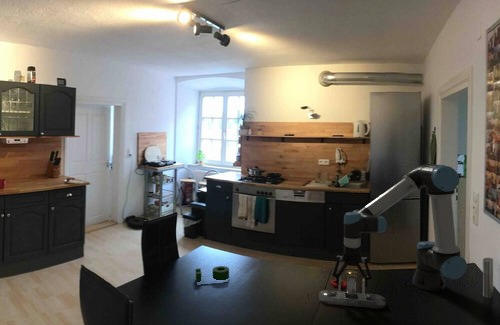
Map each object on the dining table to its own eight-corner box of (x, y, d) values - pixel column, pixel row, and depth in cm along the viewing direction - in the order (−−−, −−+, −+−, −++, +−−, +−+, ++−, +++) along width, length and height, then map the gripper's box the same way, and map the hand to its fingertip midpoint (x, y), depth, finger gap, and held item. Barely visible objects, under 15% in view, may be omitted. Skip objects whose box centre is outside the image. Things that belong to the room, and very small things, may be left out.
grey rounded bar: (383, 301, 160) (383, 293, 160) (386, 309, 152) (386, 301, 152) (319, 295, 167) (319, 287, 166) (318, 302, 159) (318, 294, 159)
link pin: (356, 300, 162) (357, 270, 161) (357, 305, 156) (358, 275, 156) (345, 298, 163) (345, 270, 162) (345, 304, 157) (346, 274, 157)
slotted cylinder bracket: (227, 276, 191) (227, 265, 191) (230, 283, 183) (230, 271, 182) (195, 279, 188) (195, 268, 187) (196, 286, 179) (196, 274, 179)
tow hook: (329, 281, 185) (331, 287, 176) (330, 257, 185) (331, 262, 176) (345, 282, 184) (348, 288, 175) (346, 258, 184) (348, 263, 175)
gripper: (376, 244, 159) (375, 290, 160) (327, 242, 164) (326, 286, 165) (379, 249, 152) (378, 297, 153) (327, 246, 157) (326, 293, 158)
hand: (351, 292), depth 159 cm, fingers open, 10 cm apart
